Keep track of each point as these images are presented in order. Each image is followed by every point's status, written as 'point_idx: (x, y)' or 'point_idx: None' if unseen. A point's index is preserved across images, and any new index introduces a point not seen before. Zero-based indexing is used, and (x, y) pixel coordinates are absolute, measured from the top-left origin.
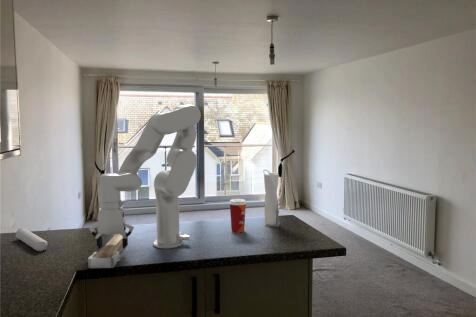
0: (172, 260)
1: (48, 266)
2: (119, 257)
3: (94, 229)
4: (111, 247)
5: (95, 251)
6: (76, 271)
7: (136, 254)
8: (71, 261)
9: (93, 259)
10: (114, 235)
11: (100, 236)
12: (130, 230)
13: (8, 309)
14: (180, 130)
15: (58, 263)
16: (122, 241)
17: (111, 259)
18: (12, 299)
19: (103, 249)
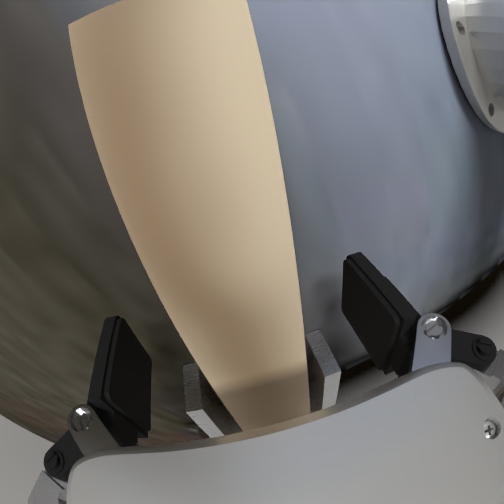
0: (494, 256)
1: (64, 414)
2: (325, 341)
3: (59, 492)
4: (293, 400)
5: (188, 413)
6: (192, 428)
7: (393, 230)
8: (83, 386)
9: None
10: (75, 66)
11: (120, 428)
12: (487, 384)
13: None
14: None
15: (62, 399)
16: (370, 355)
17: None
18: None
19: (254, 425)
